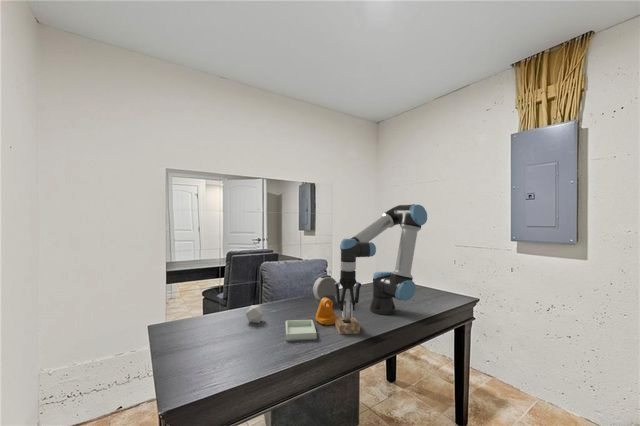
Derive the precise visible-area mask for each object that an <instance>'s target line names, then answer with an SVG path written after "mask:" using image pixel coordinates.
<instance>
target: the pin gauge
mask: <svg viewBox="0 0 640 426" xmlns="http://www.w3.org/2000/svg"><path fill="white" fill-rule="evenodd" d="M344 304H345V318H344V323H350V317H351V299H344Z"/></svg>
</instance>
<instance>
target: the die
mask: <svg viewBox="0 0 640 426" xmlns="http://www.w3.org/2000/svg"><path fill="white" fill-rule="evenodd" d="M245 315H246V317H247V322H248V323H250V324H252V323H253V324H259V323H260V322H261V320H263V317H264V316H265V312H264V309H263V308H262V305H250V307H249V308H248V310H247V311H246V312H245Z"/></svg>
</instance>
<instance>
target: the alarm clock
mask: <svg viewBox="0 0 640 426" xmlns="http://www.w3.org/2000/svg"><path fill="white" fill-rule="evenodd" d="M335 283H337V281H336V279H335V278H333V277H332V276H331V275H329V274H323V275H321V276H320V277H318V278H317V279H316V281H315V282H314V283H313V284H314V285H313V286H312V291H313V292H312V293H313V296H314V304H315V305H317V306H318V307H319V304H320V301H321V299H322V298H324V297H326V298H328V299H330V300H332V302H333V305H336V304H337V298H336V286H335Z"/></svg>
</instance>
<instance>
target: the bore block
mask: <svg viewBox="0 0 640 426" xmlns="http://www.w3.org/2000/svg"><path fill="white" fill-rule="evenodd" d="M334 324H335V325H334V326H335V329H336V330H337V332H338V335H347V334H348V335H349V334H350V335H351V334H361V325H360V323H359V321H358V320H357V319H356V318H355V317H353V316H352V318H350V323H344V318H343V317H339V318H335V323H334Z"/></svg>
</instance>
